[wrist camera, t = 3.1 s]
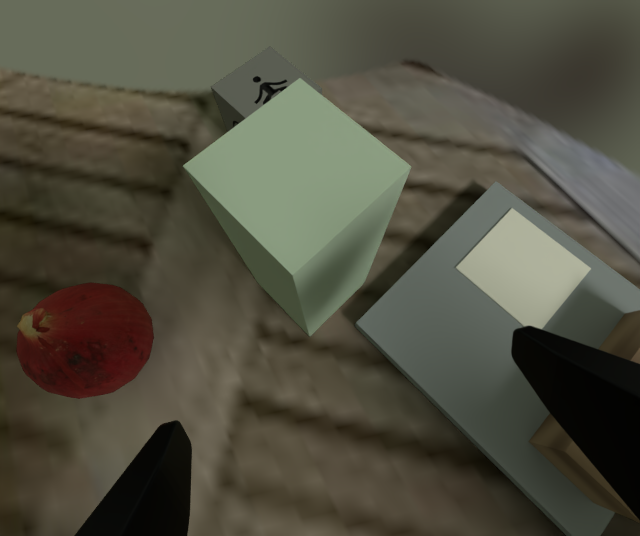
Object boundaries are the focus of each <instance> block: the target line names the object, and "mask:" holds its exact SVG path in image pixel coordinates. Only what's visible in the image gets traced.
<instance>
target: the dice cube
mask: <svg viewBox="0 0 640 536" xmlns="http://www.w3.org/2000/svg"><path fill="white" fill-rule="evenodd" d="M299 78H301V79H302V80H303V81H305V82H306V83H307V84H308V85H310V86H311V87H312V88H313V89H315V90H316V91H317V92H318V93H320V94H321V95H322V88H321V87H320V86H319V85H317V84H316V83H315V82H314V81H312V80H311V79H310V78H309V77H307V76H306V75H305V74H304V73H303V72H301V71H300V70H299V69H297V68H296V67H295V66H294V65H293V64H291V63H290V62H289V61H288V60H286V59H285V58H284V57H283V56H282V55H280V54H279V53H278V52H277V51H275V50H274V49H273V48H272V47H270V46H269V47H268V48H267V49H265V50H264V51H262V52H261V53H259V54H258V55H256V56H255V57H254V58H252V59H251V60H249V61H248V62H246V63H245V64H243V65H242V66H241V67H239V68H238V69H236V70H235V71H233V72H232V73H230V74H229V75H227V76H226V77H224V78H223V79H221V80H220V81H219V82H217V83H216V84H214V85H213V86H211V89H212V91H213V94H214V97H215V99H216V102H217V105H218V107H219V110H220V113H221V115H222V118H223V121H224V123H225V126H226V129H227V131H230V130H231V129H232V128H234V127H235V126H236V125H238V124H239V123H240V122H242V121H243V120H244V119H246V118H247V117H248V116H250V115H251V114H252V113H254V112H255V111H256V110H258V109H259V108H260V107H262V106H263V105H264V104H266V103H267V102H268V101H270V100H271V99H272V98H274V97H275V96H276V95H278V94H279V93H280V92H282V91H283V90H284V89H286V88H287V87H288V86H290V85H291V84H292V83H294V82H295V81H296V80H298V79H299Z"/></svg>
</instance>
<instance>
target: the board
mask: <svg viewBox="0 0 640 536" xmlns="http://www.w3.org/2000/svg"><path fill="white" fill-rule="evenodd" d="M638 310H640V289H638V288H637V287H636V286H634V285H633V284H632V283H630V282H629V281H628V280H626V279H625V278H624V277H622V276H621V275H620V274H618V273H617V272H616V271H614V270H613V269H612V268H610V267H609V266H608V265H606V264H605V263H604V262H603V261H601V260H600V259H599V258H597V257H596V256H595V255H593V254H592V253H591V252H589V251H588V250H587V249H585V248H584V247H583V246H581V245H580V244H579V243H577V242H576V241H575V240H573V239H572V238H571V237H569V236H568V235H567V234H565V233H564V232H563V231H561V230H560V229H559V228H557V227H556V226H555V225H553V224H552V223H551V222H549V221H548V220H547V219H545V218H544V217H543V216H541V215H540V214H539V213H538V212H536V211H535V210H534V209H532V208H531V207H530V206H528V205H527V204H526V203H524V202H523V201H522V200H520V199H519V198H518V197H516V196H515V195H514V194H512V193H511V192H510V191H508V190H507V189H506V188H504V187H503V186H502V185H500V184H499V183H498V182H495V183H494V184H493V185H492V186H491V187H490V188H489V189H488V190H487V191H486V192H485V193H484V194H483V195H482V196H481V197H480V198H479V199H478V200H477V201H476V202H475V203H474V204H473V205H472V206H471V207H470V208H469V209H468V210H467V211H466V212H465V213H464V214H463V215H462V216H461V217H460V218H459V219H458V220H457V221H456V222H455V223H454V224H453V225H452V226H451V227H450V228H449V229H448V230H447V231H446V232H445V233H444V234H443V235H442V236H441V237H440V238H439V239H438V240H437V241H436V242H435V243H434V245H433V246H432V247H431V248H430V249H429V250H428V251H427V252H426V253H425V254H424V255H423V256H422V257H421V258H420V259H419V260H418V261H417V262H416V263H415V264H414V265H413V266H412V267H411V268H410V269H409V270H408V271H407V272H406V273H405V274H404V275H403V276H402V277H401V278H400V279H399V280H398V281H397V282H396V283H395V284H394V285H393V286H392V287H391V288H390V289H389V290H388V291H387V292H386V293H385V294H384V295H383V296H382V297H381V298H380V299H379V300H378V301H377V302H376V303H375V304H374V305H373V306H372V307H371V308H370V309H369V310H368V311H367V312H366V313H365V314H364V315H363V316H362V317H361V318H360V319H359V320H358V321H357V322H356V324H355V327H356V328H357V329H358V330H359V331H360V332H361V333H362V334H363V335H364V336H365V337H366V338H367V339H368V340H369V341H370V342H371V343H372V344H373V345H374V346H375V347H376V348H377V349H378V350H379V351H380V352H381V353H382V354H383V355H384V356H385V357H386V358H387V359H388V360H389V361H390V362H391V363H392V364H393V365H394V366H395V367H396V368H397V369H398V370H399V371H400V372H401V373H402V374H403V375H404V376H405V377H406V378H407V379H408V380H409V381H410V382H412V383H413V384H414V385H415V386H416V387H417V388H418V389H419V390H420V391H421V392H422V393H423V394H424V395H425V396H426V397H427V398H428V399H429V400H430V401H431V402H432V403H433V404H434V405H435V406H436V407H437V408H438V409H439V410H440V411H441V412H442V413H443V414H444V415H445V416H446V417H447V418H448V419H449V420H450V421H451V422H452V423H453V424H454V425H455V426H456V427H457V428H458V429H459V430H460V431H461V432H462V433H463V434H464V435H465V436H466V437H467V438H468V439H469V440H470V441H471V442H472V443H473V444H474V445H475V446H476V447H477V448H478V449H479V450H480V451H481V452H482V453H483V454H484V455H485V456H486V457H487V458H488V459H489V460H490V461H491V462H492V463H493V464H494V465H495V466H496V467H498V468H499V469H500V470H501V471H502V472H503V473H504V474H505V475H506V476H507V477H508V478H509V479H510V480H511V481H512V482H513V483H514V484H515V485H516V486H517V487H518V488H519V489H520V490H521V491H522V492H523V493H524V494H525V495H526V496H527V497H528V498H529V499H530V500H531V501H532V502H533V503H534V504H535V505H536V506H537V507H538V508H539V509H540V510H541V511H542V512H543V513H544V514H545V515H546V516H547V517H548V518H549V519H550V520H551V521H552V522H553V523H554V524H555V525H556V526H557V527H558V528H559V529H560V530H561V531H562V532H563V533H564V534H565V535H566V536H601V534H602V533H603V531H604V530H605V528H606V526H607V525H608V523H609V522H610V520H611V519H612V517H613V516H614V514H615V512H613V511H611V510H609V509H606V508H604V507H602V506H599V505H597V504H595V503H593V502H592V501H591V500H590V499H589V498H588V497H587V496H586V495H585V494H584V493H583V492H581V491H580V490H579V489H578V488H577V487H576V486H575V485H574V484H573V483H572V482H571V481H570V480H569V479H568V478H567V477H566V476H564V475H563V474H562V473H561V472H560V471H559V470H558V469H557V468H556V467H555V466H554V465H553V464H552V463H551V462H550V461H549V460H548V459H546V458H545V457H544V456H543V455H542V454H541V453H540V452H539V451H538V450H537V449H536V448H535V447H534V446H533V445H532V444H531V443H529V442H528V441H529V440H530V439H531V437H532V436H533V435H534V433H535V432H536V431H537V429H538V428H539V427H540V425H541V424H542V423H543V422H544V420H545V419H546V418H547V416H548V415H549V414H550V412H549V411H548V410H547V408H546V407H545V406H544V404H543V403H542V401H541V400H540V398H539V397H538V396H537V394H536V393H535V391H534V390H533V388H532V387H531V385H530V384H529V382H528V381H527V379H526V378H525V377H524V375H523V374H522V372H521V371H520V369H519V368H518V366H517V365H516V363H515V362H514V360H513V358H512V355H511V347H512V336H513V331H514V330H515V329H517V328H520V327H524V326H534V327H536V328H539V329H542V330H545V331H548V332H551V333H553V334H556V335H559V336H562V337H565V338H568V339H571V340H573V341H576V342H579V343H582V344H585V345H588V346H591V347H593V348H596V349H599V347H600V346H601V345H602V343H603V342H604V341H605V339H606V338H607V337H608V335H609V334H610V333H611V331H612V330H613V329H614V327H615V326H616V325H617V323H618V322H619V321H620V319H621V318H622V317H623V315H624V314H625V313H629V312H634V311H638Z"/></svg>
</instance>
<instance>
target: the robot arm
mask: <svg viewBox="0 0 640 536" xmlns="http://www.w3.org/2000/svg"><path fill="white" fill-rule="evenodd" d="M511 355H512V358H513V360H514V362H515V363H516V365H517V366H518V368H519V369H520V371H521V372H522V374H523V375H524V377H525V378H526V379H527V381H528V382H529V384H530V385H531V387H532V388H533V390H534V391H535V393H536V394H537V396H538V397H539V398H540V400H541V401H542V403H543V404H544V406H545V407H546V408H547V410H548V411H549V412H550V414H551V415H552V416H553V417H554V419H555V420H556V421H557V422H558V423H559V425H560V426H561V427H562V428H563V429H564V431H565V432H566V433H567V434H568V435H569V437H570V438H571V439H572V440H573V441H574V443H575V444H576V445H577V446H578V447H579V449H580V450H581V451H582V452H583V453H584V455H585V456H586V457H587V458H588V459H589V461H590V462H591V463H592V464H593V465H594V467H595V468H596V469H597V470H598V471H599V473H600V474H601V475H602V476H603V477H604V479H605V480H606V481H607V482H608V483H609V485H610V486H611V487H612V488H613V489H614V491H615V492H616V493H617V494H618V495H619V497H620V498H621V499H622V500H623V501H624V503H625V504H626V505H627V506H628V507H629V509H630V510H631V511H632V512H633V513H634V515H635V516H636V517H637V518H638V519H639V521H640V364H639V363H636V362H633V361H630V360H628V359H625V358H622V357H619V356H616V355H613V354H610V353H608V352H605V351H602V350H599V349H596V348H593V347H591V346H588V345H585V344H582V343H579V342H576V341H573V340H571V339H568V338H565V337H562V336H559V335H556V334H553V333H551V332H548V331H545V330H542V329H539V328H536V327H534V326H524V327H520V328H517V329H515V330H514V331H513V336H512V347H511ZM191 460H192V447H191V442H190V440H189V438H188V436H187V434H186V432H185V430H184V428H183V427H182V425H181V423H180V422H179V421H176V420H175V421H171V422H168V423H164V424H162V425H160V426H159V427H158V428H157V430H156V431H155V432H154V434H153V435H152V436H151V438H150V439H149V440H148V441H147V443H146V444H145V445H144V447H143V448H142V449H141V450H140V452H139V453H138V454H137V456H136V457H135V458H134V459H133V461H132V462H131V463H130V465H129V466H128V467H127V469H126V470H125V471H124V472H123V474H122V475H121V476H120V478H119V479H118V480H117V481H116V483H115V484H114V485H113V487H112V488H111V489H110V490H109V492H108V493H107V494H106V496H105V497H104V498H103V500H102V501H101V502H100V503H99V505H98V506H97V507H96V509H95V510H94V511H93V512H92V514H91V515H90V516H89V518H88V519H87V520H86V521H85V523H84V524H83V525H82V527H81V528H80V529H79V530H78V532H77V533H76V534H75V536H187V533H188V526H189V516H190V495H191Z"/></svg>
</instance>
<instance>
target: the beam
mask: <svg viewBox="0 0 640 536" xmlns="http://www.w3.org/2000/svg"><path fill="white" fill-rule="evenodd" d="M599 350H602V351H605V352H608V353H610V354H613V355H616V356H619V357H622V358H625V359H628V360H630V361H633V362H636V363H639V364H640V310H638V311H634V312H629V313H625V314H624V315H623V317H622V318H621V319H620V321H619V322H618V323H617V325H616V326H615V327H614V329H613V330H612V331H611V333H610V334H609V335H608V337H607V338H606V339H605V341H604V342H603V343H602V345H601V346H600V347H599ZM528 442H529V443H531V444H532V445H533V446H534V447H535V448H536V449H537V450H538V451H539V452H540V453H541V454H542V455H543V456H544V457H545V458H546V459H548V460H549V461H550V462H551V463H552V464H553V465H554V466H555V467H556V468H557V469H558V470H559V471H560V472H561V473H562V474H563V475H564V476H566V477H567V478H568V479H569V480H570V481H571V482H572V483H573V484H574V485H575V486H576V487H577V488H578V489H579V490H580V491H581V492H583V493H584V494H585V495H586V496H587V497H588V498H589V499H590V500H591V501H592V502H593V503H595V504H597V505H599V506H602V507H604V508H606V509H609V510H611V511H613V512H615V513H618V514H620V515H622V516H625V517H627V518H629V519H631V520H634V521H636V522H638V523H640V521H639V519H638V518H637V517H636V516H635V515H634V513H633V512H632V511H631V510H630V509H629V507H628V506H627V505H626V504H625V503H624V501H623V500H622V499H621V498H620V497H619V495H618V494H617V493H616V492H615V491H614V489H613V488H612V487H611V486H610V485H609V483H608V482H607V481H606V480H605V479H604V477H603V476H602V475H601V474H600V473H599V471H598V470H597V469H596V468H595V467H594V465H593V464H592V463H591V462H590V461H589V459H588V458H587V457H586V456H585V455H584V453H583V452H582V451H581V450H580V449H579V447H578V446H577V445H576V444H575V443H574V441H573V440H572V439H571V438H570V437H569V435H568V434H567V433H566V432H565V431H564V429H563V428H562V427H561V426H560V425H559V423H558V422H557V421H556V420H555V419H554V417H553V416H552V415H551V414H549V415H548V416H547V418H546V419H545V420H544V422H543V423H542V424H541V425H540V427H539V428H538V429H537V431H536V432H535V433H534V435H533V436H532V437H531V439H530V440H529V441H528Z"/></svg>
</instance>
